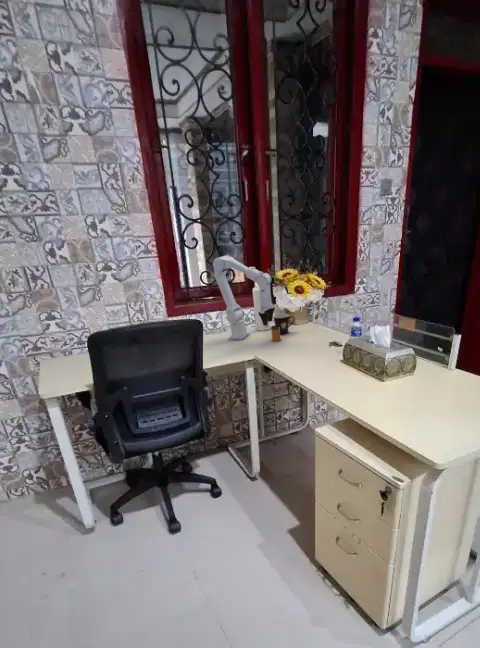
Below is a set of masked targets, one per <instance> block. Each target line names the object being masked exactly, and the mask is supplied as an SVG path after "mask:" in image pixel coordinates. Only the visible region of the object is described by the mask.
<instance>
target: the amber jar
mask: <svg viewBox="0 0 480 648" xmlns="http://www.w3.org/2000/svg"><path fill="white" fill-rule="evenodd" d="M270 329H271V342H280V341H281V340H282V339H281V335H280V326H277V325H275V324H274V325H271V326H270Z"/></svg>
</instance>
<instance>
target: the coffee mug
mask: <svg viewBox="0 0 480 648" xmlns="http://www.w3.org/2000/svg"><path fill="white" fill-rule="evenodd" d="M290 318H293V321H292V322H291V323H290V324H289V321H290ZM273 321H274V326H275V325H277V326H280V336H284V335H288V333H289V328H290V327H291V326H292V325H293V324H294V323H295V322H296V320H295V316H293V315H289V314H287V313H277V314H273Z"/></svg>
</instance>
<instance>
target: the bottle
mask: <svg viewBox="0 0 480 648" xmlns="http://www.w3.org/2000/svg"><path fill="white" fill-rule="evenodd" d="M253 282H254V287H253V288H252V298H253V308H254V317H255V327H256V331H268V330H270V329H271V326H270V321H268V325H267V326H266V325H263V322H262V319H261V317H260V316H259V314H258V313H259V312H260V309H261V300H260V290H259V286H258V284H257V282H255V281H253Z"/></svg>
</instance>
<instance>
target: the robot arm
mask: <svg viewBox="0 0 480 648" xmlns="http://www.w3.org/2000/svg"><path fill="white" fill-rule="evenodd" d="M212 267H213V274H214V278H215V280H216V283H217V286H218V289H219V290H220V293H221V296H222V299H223V301H224V302H225V303H224V304H225V305H226V309H225V314H226V320H227V321H228V322H229V325H230V333H231V337H229V340H241V341H242V340H243V339H245V338H246V337H247V336H248V335H249V333H247V325H246V322H245V320H244V318H245V311H244V310H243V309H242V308H241V305H239V304H238V303H237V302H236V299H235V297H234V294H233V292H232V288H231V287H230V284H229V282H228V279H227V276H226V274H227V272H228V270H229V269H234V270H236V271H238V272H240V273H243V274H245V277H246V278H248V279H250V280H251V281H253V282H254V281H255V282H257V284H258V286H259V290H260V300H261V309H260V312H259V313H258V314H259V316H260V317H261V319H262V322H263V325H266V326H267V325H268V321H269V322H273V320H274V313H275V309H276V307H275V306H274V303H273V302H272V292H271V283H272V276H271V275H270V274H269V273H268V272H263V271H262V270H261V271H260V270H258V269H256V266H249V267H248V266H246V265H245V264H243V263H241V262H240V261H238V260H236V259H235V258H234V257H233V256H230V255H228V254H224V255H222V256H219V257H216V258H214V260H213V262H212ZM255 282H254V283H255Z"/></svg>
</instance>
